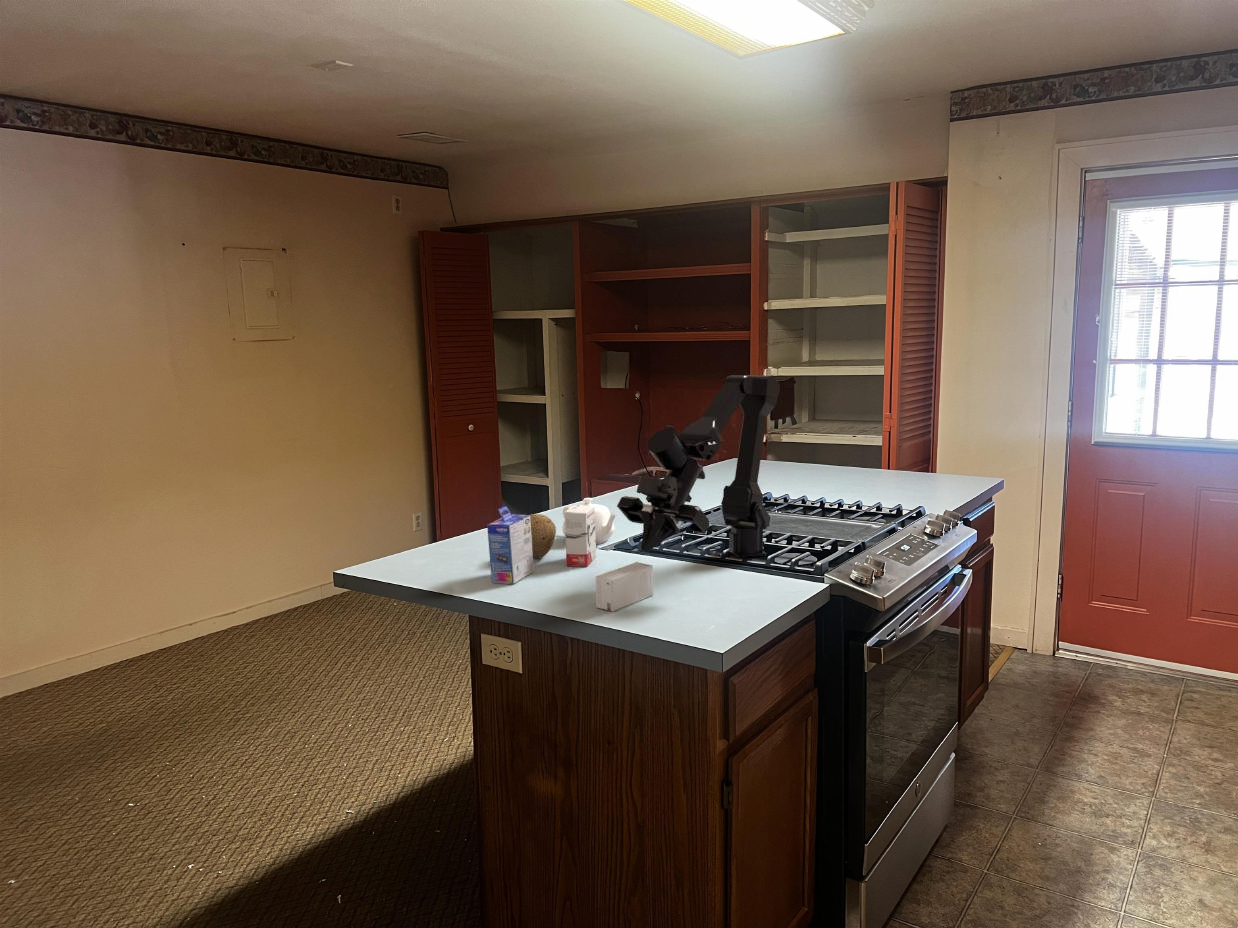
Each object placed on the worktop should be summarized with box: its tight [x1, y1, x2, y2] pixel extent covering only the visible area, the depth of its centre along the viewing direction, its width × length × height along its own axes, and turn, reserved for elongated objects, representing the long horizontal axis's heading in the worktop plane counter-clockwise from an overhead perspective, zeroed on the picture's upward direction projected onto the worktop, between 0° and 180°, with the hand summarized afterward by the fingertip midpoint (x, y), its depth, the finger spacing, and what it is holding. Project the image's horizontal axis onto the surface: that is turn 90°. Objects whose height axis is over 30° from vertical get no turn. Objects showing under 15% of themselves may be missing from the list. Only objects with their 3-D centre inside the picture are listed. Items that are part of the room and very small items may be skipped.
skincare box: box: [595, 561, 654, 612], centre depth 161 cm, size 6×4×12 cm
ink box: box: [564, 504, 597, 567], centre depth 188 cm, size 9×5×12 cm, turn 168°
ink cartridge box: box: [486, 506, 535, 585], centre depth 177 cm, size 10×6×14 cm, turn 161°
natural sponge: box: [529, 513, 557, 559], centre depth 192 cm, size 9×9×10 cm
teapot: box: [562, 497, 618, 545], centre depth 207 cm, size 20×12×10 cm, turn 40°
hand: (643, 551), depth 164 cm, fingers closed
